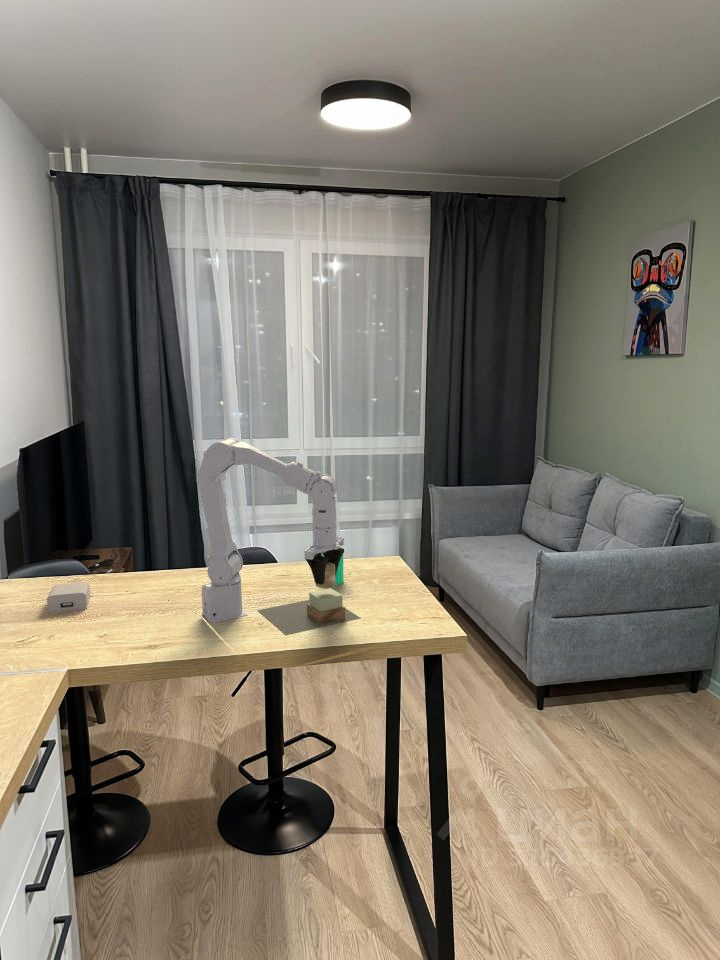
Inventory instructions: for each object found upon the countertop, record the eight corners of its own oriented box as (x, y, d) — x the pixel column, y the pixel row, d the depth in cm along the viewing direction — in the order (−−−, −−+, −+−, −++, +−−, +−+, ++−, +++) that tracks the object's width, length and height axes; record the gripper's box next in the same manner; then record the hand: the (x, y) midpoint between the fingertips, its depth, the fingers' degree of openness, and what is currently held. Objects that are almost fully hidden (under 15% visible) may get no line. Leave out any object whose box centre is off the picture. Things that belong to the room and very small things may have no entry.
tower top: (320, 611, 159) (320, 599, 158) (309, 603, 164) (309, 592, 163) (342, 607, 162) (342, 595, 161) (331, 599, 167) (330, 588, 166)
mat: (285, 637, 153) (285, 635, 153) (256, 612, 168) (256, 610, 168) (360, 620, 163) (360, 618, 163) (327, 597, 178) (327, 596, 178)
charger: (92, 590, 185) (87, 609, 171) (56, 594, 183) (48, 613, 169) (91, 574, 185) (85, 592, 170) (55, 577, 182) (46, 596, 168)
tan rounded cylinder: (321, 589, 159) (320, 569, 158) (312, 583, 163) (311, 564, 162) (338, 585, 161) (338, 566, 160) (329, 580, 165) (329, 561, 164)
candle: (343, 586, 187) (342, 545, 185) (321, 586, 187) (321, 545, 185) (343, 579, 193) (343, 539, 191) (323, 579, 193) (322, 539, 191)
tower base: (319, 624, 159) (319, 612, 158) (307, 615, 165) (306, 603, 164) (345, 618, 162) (345, 607, 162) (332, 609, 168) (331, 598, 168)
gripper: (321, 535, 151) (322, 592, 154) (354, 521, 164) (354, 574, 166) (296, 531, 155) (297, 587, 157) (330, 518, 167) (330, 570, 169)
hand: (325, 580), depth 162 cm, fingers closed on tan rounded cylinder, 5 cm apart
